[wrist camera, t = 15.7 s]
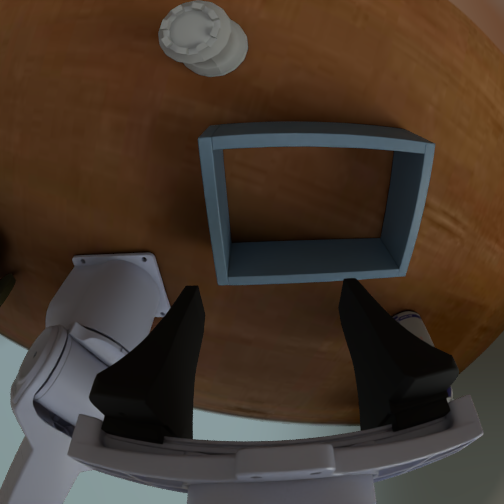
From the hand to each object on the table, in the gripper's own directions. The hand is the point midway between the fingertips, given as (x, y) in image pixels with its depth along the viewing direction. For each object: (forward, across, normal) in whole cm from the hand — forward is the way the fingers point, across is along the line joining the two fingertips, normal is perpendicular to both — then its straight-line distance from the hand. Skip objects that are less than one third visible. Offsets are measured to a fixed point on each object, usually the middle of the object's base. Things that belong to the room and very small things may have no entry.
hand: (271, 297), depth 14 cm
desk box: (+10, -4, -2) cm, 11 cm away
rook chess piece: (+10, +3, -13) cm, 16 cm away
